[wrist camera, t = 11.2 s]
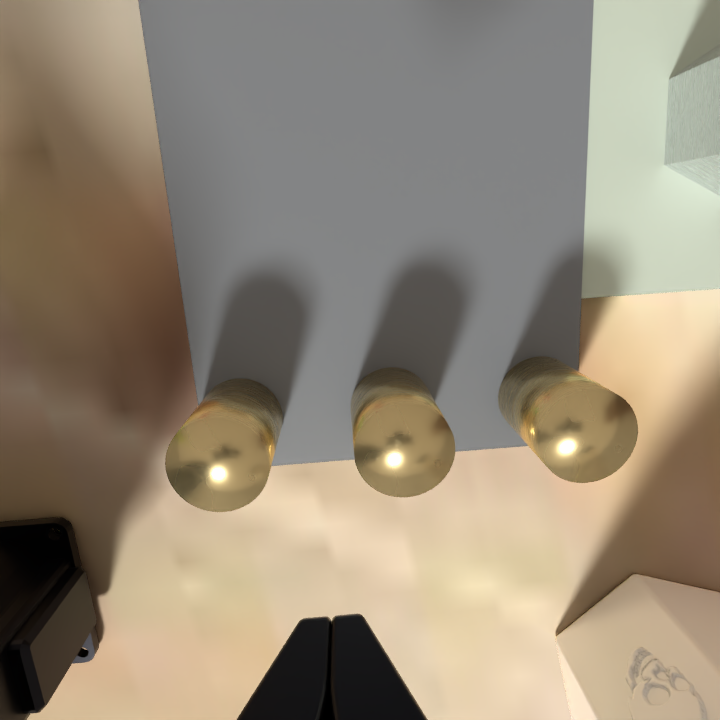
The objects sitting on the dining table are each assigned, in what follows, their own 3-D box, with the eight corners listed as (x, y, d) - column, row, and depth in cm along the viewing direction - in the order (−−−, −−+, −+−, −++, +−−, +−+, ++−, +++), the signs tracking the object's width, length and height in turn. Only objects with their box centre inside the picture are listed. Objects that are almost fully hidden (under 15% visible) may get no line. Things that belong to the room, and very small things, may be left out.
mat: (571, 296, 19) (579, 298, 19) (584, -47, 17) (594, -59, 16) (781, 281, 20) (796, 283, 19) (827, -60, 17) (846, -71, 16)
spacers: (206, 458, 19) (173, 515, 16) (101, -249, 14) (13, -427, 10) (575, 429, 20) (634, 478, 16) (605, -268, 15) (702, -447, 11)
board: (213, 461, 20) (207, 471, 20) (110, -245, 15) (98, -272, 14) (566, 434, 21) (575, 442, 20) (592, -264, 15) (606, -291, 14)
